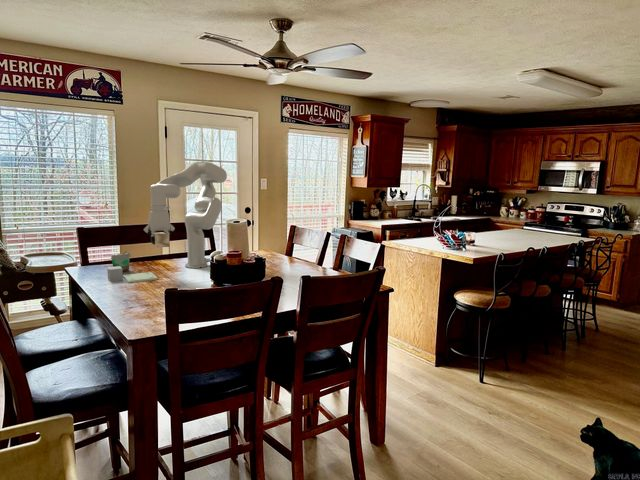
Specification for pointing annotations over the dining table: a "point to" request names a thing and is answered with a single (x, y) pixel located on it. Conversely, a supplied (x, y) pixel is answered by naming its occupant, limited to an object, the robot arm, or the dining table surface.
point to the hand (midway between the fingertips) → (160, 243)
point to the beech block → (161, 240)
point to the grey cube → (115, 273)
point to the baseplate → (139, 277)
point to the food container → (121, 261)
